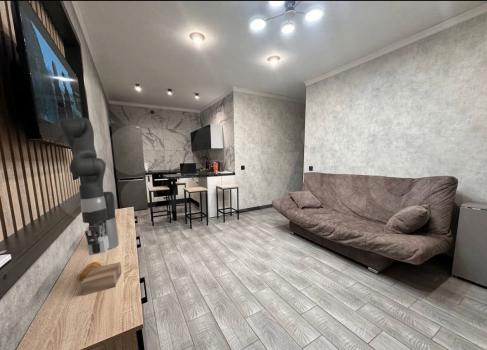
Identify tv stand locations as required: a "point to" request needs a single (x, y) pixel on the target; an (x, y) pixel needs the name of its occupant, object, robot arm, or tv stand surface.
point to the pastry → (89, 269)
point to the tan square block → (101, 278)
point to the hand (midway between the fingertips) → (99, 249)
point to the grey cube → (103, 244)
